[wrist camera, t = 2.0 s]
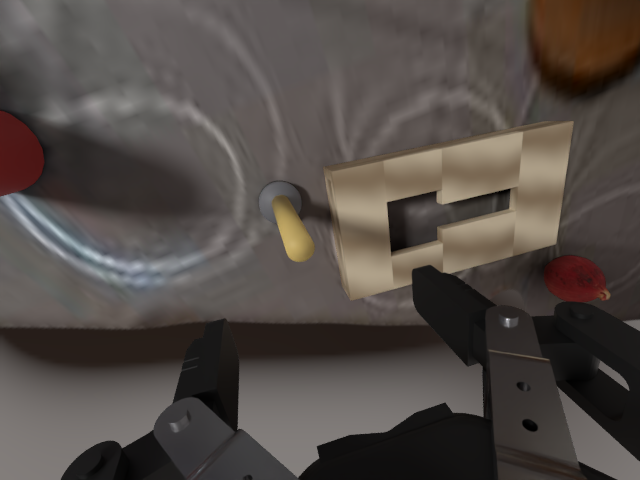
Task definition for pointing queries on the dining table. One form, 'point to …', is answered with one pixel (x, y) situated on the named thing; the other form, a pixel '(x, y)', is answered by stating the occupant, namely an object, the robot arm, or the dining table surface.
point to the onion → (575, 279)
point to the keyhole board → (451, 185)
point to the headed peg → (287, 218)
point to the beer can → (18, 155)
